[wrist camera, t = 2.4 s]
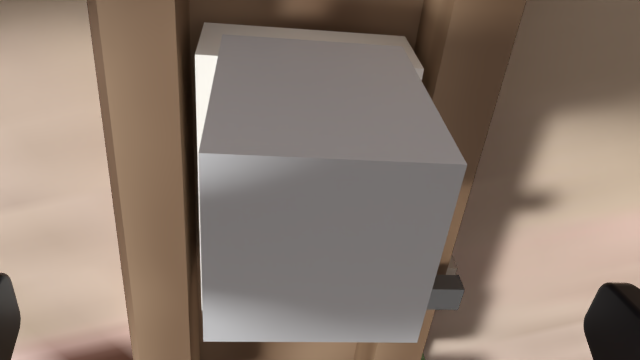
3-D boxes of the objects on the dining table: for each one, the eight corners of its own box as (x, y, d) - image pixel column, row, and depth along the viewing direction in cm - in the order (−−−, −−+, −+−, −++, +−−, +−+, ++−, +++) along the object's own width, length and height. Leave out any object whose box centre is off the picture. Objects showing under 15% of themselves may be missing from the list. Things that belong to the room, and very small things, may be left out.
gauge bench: (146, 405, 25) (124, 512, 21) (73, -206, 13) (-9, -209, 9) (392, 403, 26) (413, 504, 22) (542, -153, 14) (644, -136, 10)
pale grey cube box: (208, 260, 19) (179, 476, 13) (203, 2, 14) (155, 151, 8) (426, 265, 19) (494, 470, 14) (489, 23, 15) (638, 171, 9)
